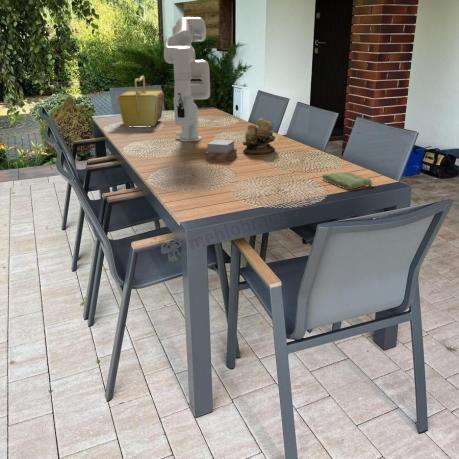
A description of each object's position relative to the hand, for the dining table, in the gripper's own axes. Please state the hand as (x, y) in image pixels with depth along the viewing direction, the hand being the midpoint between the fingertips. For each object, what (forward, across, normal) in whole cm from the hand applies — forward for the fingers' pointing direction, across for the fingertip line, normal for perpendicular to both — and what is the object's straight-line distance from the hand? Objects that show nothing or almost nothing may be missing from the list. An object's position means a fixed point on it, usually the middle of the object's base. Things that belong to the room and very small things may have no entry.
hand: (184, 115), depth 222 cm
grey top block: (+17, -5, +16) cm, 24 cm away
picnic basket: (+22, -77, -63) cm, 102 cm away
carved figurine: (+21, -21, +31) cm, 43 cm away
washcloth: (+20, +21, +78) cm, 83 cm away
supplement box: (+4, 0, 0) cm, 4 cm away
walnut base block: (+21, -5, +16) cm, 27 cm away
